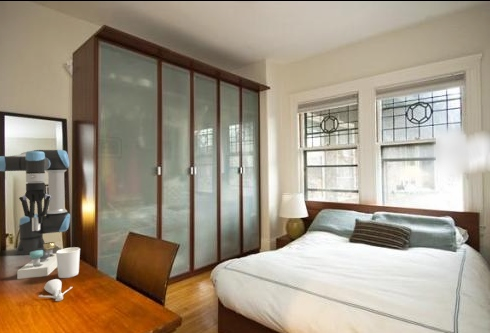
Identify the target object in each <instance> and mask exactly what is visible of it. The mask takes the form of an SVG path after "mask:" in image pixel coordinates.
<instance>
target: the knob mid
mask: <svg viewBox="0 0 490 333" xmlns="http://www.w3.org/2000/svg"><path fill="white" fill-rule="evenodd" d="M48 257H50V252H49V251H46V250H44V251H43V256H42V257H40V262H46V261H47V258H48Z"/></svg>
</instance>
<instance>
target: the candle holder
mask: <svg viewBox="0 0 490 333" xmlns="http://www.w3.org/2000/svg"><path fill="white" fill-rule="evenodd" d="M55 254H56V256H57V267H56V269H57V277H58V279H69V278H73V277H75V276H78V275H79V272H80V257H81V256H80V255H81V248H80V247H78V246H77V247H75V246H73V247H66V248H60V249H58V250H56V252H55Z"/></svg>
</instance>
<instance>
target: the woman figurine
mask: <svg viewBox="0 0 490 333" xmlns="http://www.w3.org/2000/svg"><path fill="white" fill-rule="evenodd" d="M62 284H63V283H62V280H60V278H55V279H51V280H48V281H47V282H46V283H45V284H44V287H43V288H44V290H45V292H47V293H49V294H51V295H43V294H40V295H38V298H50V299H54V300H55V302H60V301H62V300H63V299H64V295H65V294H66V293H68V291H71V289H73V286H70V287H69V288H68V289H66V290H65V291H64V292H63V293H62Z"/></svg>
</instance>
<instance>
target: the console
mask: <svg viewBox="0 0 490 333" xmlns="http://www.w3.org/2000/svg"><path fill="white" fill-rule="evenodd" d="M55 269H57V256H56V253H53V256H50V257H48V258H47V261H46V262H40V265H39V266H33V259H32V260H31V261H29V262H28V263H26V264H25V265H23V266H22V267H21V268H19V269H18V270H17V271H16V272H17V275H16V276H17V280H21V279H31V278H32V279H33V278H41V277H48V276H49V275H50V274H51V273H53V271H54V270H55Z"/></svg>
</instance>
